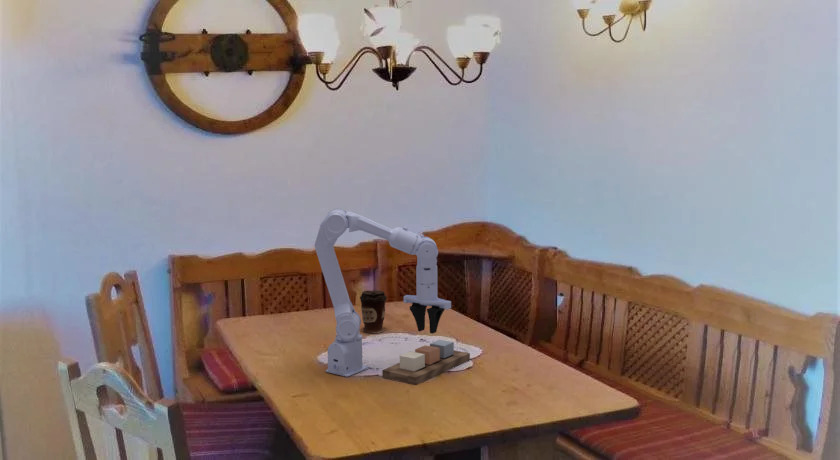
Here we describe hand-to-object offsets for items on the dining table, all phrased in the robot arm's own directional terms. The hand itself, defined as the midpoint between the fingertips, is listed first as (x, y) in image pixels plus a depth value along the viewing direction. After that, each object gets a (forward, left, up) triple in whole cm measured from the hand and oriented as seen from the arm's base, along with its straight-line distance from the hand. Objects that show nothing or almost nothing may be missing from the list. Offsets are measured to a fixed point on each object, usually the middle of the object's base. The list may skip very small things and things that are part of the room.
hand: (427, 331), depth 218 cm
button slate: (+7, 0, -8) cm, 11 cm away
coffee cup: (+22, +37, -11) cm, 44 cm away
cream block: (-7, 0, -8) cm, 11 cm away
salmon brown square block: (0, 0, -8) cm, 8 cm away
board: (0, 0, -10) cm, 10 cm away
